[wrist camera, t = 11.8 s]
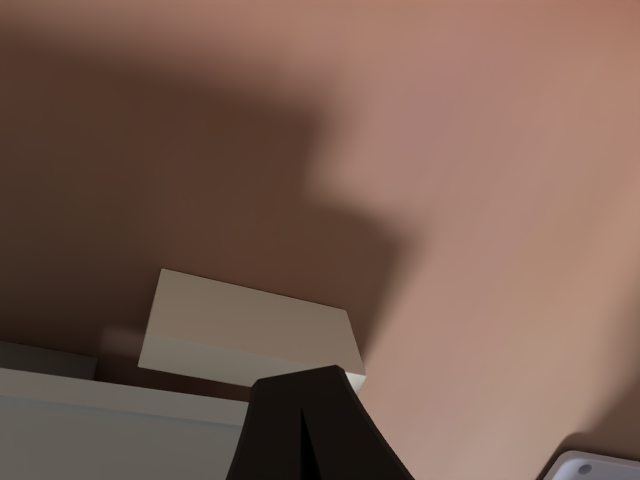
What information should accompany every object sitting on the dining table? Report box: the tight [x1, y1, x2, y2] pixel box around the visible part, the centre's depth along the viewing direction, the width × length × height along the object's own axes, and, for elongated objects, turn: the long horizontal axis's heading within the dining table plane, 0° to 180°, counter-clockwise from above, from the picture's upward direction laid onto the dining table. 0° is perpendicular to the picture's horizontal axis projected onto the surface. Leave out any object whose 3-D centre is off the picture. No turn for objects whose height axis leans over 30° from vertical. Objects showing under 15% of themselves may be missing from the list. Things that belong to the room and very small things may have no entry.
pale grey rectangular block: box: [138, 268, 366, 395], centre depth 14 cm, size 17×8×6 cm, turn 70°
